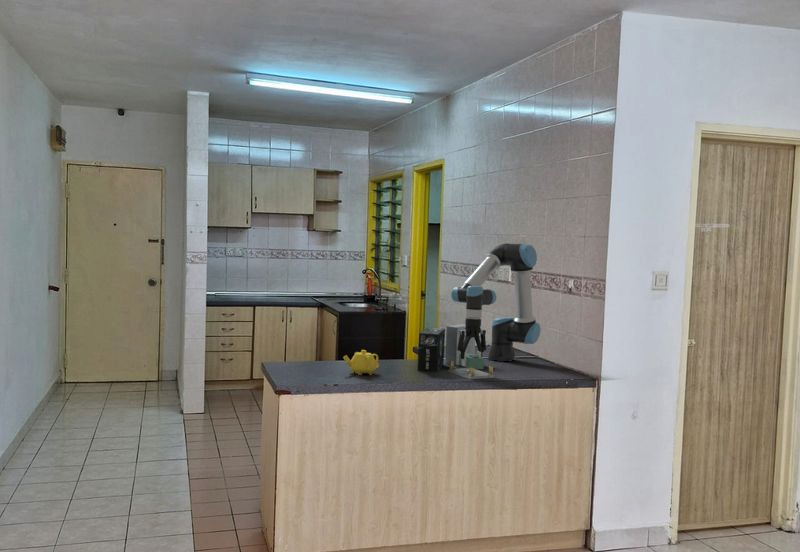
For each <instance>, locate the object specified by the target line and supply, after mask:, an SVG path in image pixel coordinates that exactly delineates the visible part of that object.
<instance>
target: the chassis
mask: <svg viewBox="0 0 800 552" xmlns="http://www.w3.org/2000/svg"><path fill="white" fill-rule="evenodd" d="M447 372H449V373H452V374H455V375H458V376H461V377H464V378H466V379H469V380H480V379H482V380H483V379H494V378H495V375H494V366H492V365H489V366H488V372H485V371H482V370H480V369H474V367H470V369H469V368H467V367H461V368H459V367H458V368H455V365H454V361H450V364H449V368H448V371H447Z"/></svg>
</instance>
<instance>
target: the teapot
mask: <svg viewBox="0 0 800 552" xmlns="http://www.w3.org/2000/svg"><path fill="white" fill-rule="evenodd" d="M375 357H376V358H375ZM342 358H343V360H344V361H345V362H346V364H348V366H349V369H350V370H351V371H352V373H353V372H355V373H354V374H358V375H361V376H363V374H367V375H368V374H369V375H368V376H373V375H372V374H373V373H374V372H375V371H376V370H377V368H380V363H379V355H378V354H377V353H371V352H367V350H365V349H361V351H360V352H359V351H355V352H354V355H353V356H352V358H351V359H350V358H349V357H348V355H344V356H343V357H342ZM356 372H358V373H356ZM358 375H357V376H358Z"/></svg>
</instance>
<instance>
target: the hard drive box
mask: <svg viewBox="0 0 800 552" xmlns="http://www.w3.org/2000/svg"><path fill="white" fill-rule="evenodd" d="M445 327H446V328H445V355H444V358H445V363H444V364H446V365H450V361H454V366H461V365H460V364H459V354H461V352H460V351H458V350H457V348H458V342H459V337H460V332H459V331H460V330H465V328H466V326H465V323H464V324H454V325H446V326H445ZM465 336H466V332H465ZM464 340H465V337H464ZM465 352H466V353H467V354H475V355H476V341H475V338H474V337H473V338H471V339H470V341H469V343H468V346H467V348H466V351H465Z"/></svg>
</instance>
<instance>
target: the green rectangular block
mask: <svg viewBox="0 0 800 552" xmlns="http://www.w3.org/2000/svg"><path fill="white" fill-rule="evenodd" d="M484 363H485V358H484V357H483V356H482V357H479V356H477V354H476V353H475V354H466V366H464V368H469V369H470V367H474V369H476V370H483V369H484V368H485V367H484V365H485V364H484ZM459 364H460V365H459V366H462V359H461V354H459Z"/></svg>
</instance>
